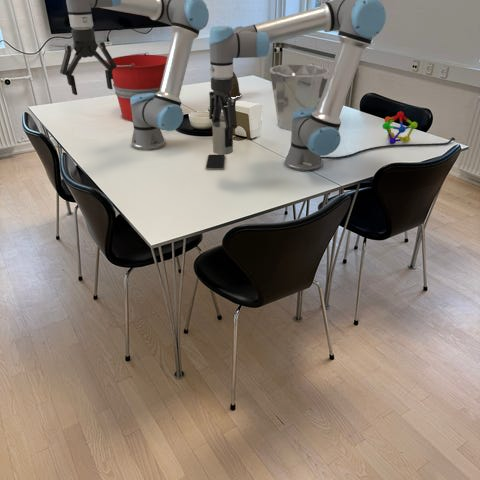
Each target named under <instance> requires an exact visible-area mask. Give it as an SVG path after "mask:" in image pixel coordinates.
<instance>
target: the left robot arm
mask: <svg viewBox="0 0 480 480" xmlns="http://www.w3.org/2000/svg"><path fill="white" fill-rule="evenodd" d="M65 2H66V3H65V4H66V7H67V13H68V18H69V24H70V28H71V30H70V32H71V36H72V42H73V43H72V44H73V45H69V44H65V45H64V55H63V58H62V62H61V67H60V69H59V73H60V74H61V75H64V76H65V77H66V81H67V84H68V85H69V86H70V87H71V93H72V95H74V96H78V90H77V85H76V78H75V75H73V73H74V71H75V70H76V68H77V67H78V64H79V62H80V61H81V60H82V58H83V59H85V58H92V57H94V58H95V59H96V60H97V61H98V62H99V63H100V64H101V65H102V67H104V68H105V70H104V74H105V79H106V87H107V89H108V90H113V88H114V87H113V83H112V82H113V81H112V80H113V73H112V71H113V69H114V68H116V67H117V66H116V64H115V62H114V61H113V59H112V58H113V57H112V56H111V54H110V52H109V51H108V49H107V47H106V43H105V42H104V41H98V42H97V41H96V34H95V29H94V28H93V27H94V21H93V15H92V14H93V13H92V9H96V8H100V9H106V10H111V11H116V12H122V13H128V14H133V15H139V16H144V17H149V19H150V20H152V21H157V22H160V23H162V24H166V25H168V26H170V28H171V30H172V37H171V42H170V45H169V50H168V54H167V56H166V57H167V62H166V66H165V70H164V74H163V78H162V82H161V86H160V90H159V92H157V93H143V94H137V95H134V96H132V97H131V99H130V102H131V104H130V106H131V110H132V118H133V121H132V125H133V132H132V135H131V142H130V143H131V147H132V148H134V149H135V150H141V151H151V150H153V151H154V150H157V149H161V148H163V147H164V146H165V144H166V140H165V137H164V135H163V132H162V131H166V132H173V131H175V130H176V129H178V128H179V127H180V126H181V124H182V123H183V120H184V112H183V109H182V107H181V106H182V100H181V98H180V95H181V91H182V87H183V82H184V79H185V75H186V71H187V67H188V63H189V59H190V56H191V51H192V47H193V43H194V40H195V39H197V38H198V37H199V35H200V32H201V31H202V30H203V29H205V28H206V27H207V25H208V23H209V19H210V13H209V12H210V11H209V9H208V7H207V4H206V2H205V1H204V0H65ZM97 49H99V50H100V51H101V52H102V54H103V56H104V57H105V58H103V57H102V56H101V55H100V54H99V52H98V51H97ZM73 51H75V53H74V54H73V58H72V60H71V56H72V52H73ZM105 59H106V60H105ZM70 60H71V62H70ZM106 61H108V62H109V64H110V65H109V64H108V63H107V62H106Z"/></svg>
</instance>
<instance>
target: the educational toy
mask: <svg viewBox="0 0 480 480" xmlns="http://www.w3.org/2000/svg"><path fill="white" fill-rule="evenodd" d="M397 119H399V124H400V125H399V127H398V126H393V125H391V124H392V123H394V122H395V121H396V120H397ZM403 120H404V121H405V122H407V123H408V124H409V125H407V126H404V123H403ZM417 127H418V122H417V121H411V120H410V119H409V118H408V117H406V116H405V113H404V112H403V111H401V110H400V111H398V112H397V114H396V115H394V116H391V117H390V116H386V117H385V118H384V122H383V123H382V129H383V130H386V132H387V138H388V142H389V145H396V143H397V142H402V141H403V142H404V143H409V142H410V140H411V138H410V136H411V134H412V132H413V131H414V130H415V129H417ZM392 129H393V130H397V131H398V132H396V134H395V133H394V132H392ZM408 129H409V131H408V133H407V134H406V135H404V136H401V134H403V133H405V132H406V130H408ZM399 135H400V136H399Z"/></svg>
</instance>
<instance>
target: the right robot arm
mask: <svg viewBox="0 0 480 480" xmlns="http://www.w3.org/2000/svg"><path fill="white" fill-rule="evenodd" d="M386 20H387V13H386V9H385V5H384V4H383V3H382V2H381V0H329V1H326V2H323V3H321V4H320V6H319V7H315V8H310V9H307V10H304V11H300V12H297V13H292V14H288V15H285V16H281V17H277V18H273V19H270V20H269V19H268V20H265V21H262V22H257V23H254V24H250V25H246V26H241V25H240V26H236V27H235V26H234V28H233V27H232V26H229V25H214V26H212V27H211V28H210V29H209V43H208V44H209V62H210V68H209V71H210V76H211V78H210V89H211V90H212V91H209V93H208V95H209V110H208V111H209V114H208V115H209V116H208V119H209V120H211V122H212V124H213V123H215V122H222V119H220V118H221V114H223V118H224V122H225V124H226V128H225V147H231V146H233V147H234V129H237V127H238V126H237V125H238V124H237V123H238V122H237V111H236V110H237V108H236V104H237V100H236V99H232V98H231V95H230V91H231V90H232V89H233V78H232V76H233V72H234V59H241V58H242V59H243V58H245V59H246V58H257V59H258V58H263V57H267V56H268V55H269V53H270V45H272V44H276V43H280V42H283V41H287V40H290V39H294V38H298V37H301V36H306V35H309V34H313V33H317V32H321V31H324V32H325V33H329V32H336V31H338V33H337V37H338V40H339V43H338V47H337V50H336V52H335V55H334V59H333V62H332V64H331V67H330V69H329V75H328V78H327V81H326V85H325V88H324V91H323V94H322V97H321V100H320V103H319V106H318V109H299V110H296V111H294V113H293V118H292V130H291V135H290V136H291V138H290V139H291V140H290V147H289V150H288V152H287V155H286V157H285V163H284V164H285V166H286V167H287V168H288V169H291V170H293V171H294V170H295V171H300V172H311V171H316V170H319V169H320V168H321V167H322V165H323V160H338V159H347V158H350V157H353V156H356V155H359V154H361V153H363V152H368V151H372V150H377V149H378V150H379V149H384V148H397V147H426V146H427V147H428V146H446V145H449V144H451V143H452V141H456V138H455V137H451V138H450V139H449V140H448V141H447V142H436V143H404V144H403V143H402V144H388V145H387V144H386V145H379V146H372V147H368V148H364V149H361V150H358V151H356V152H355V151H354V152H353V153H350V154H346V155H340V156H328V155H330V154H333V153H334V152H335V151H336V150H337V149H338V147H339V146H340V143H341V133H340V131H339V130H340V128H341V124H342V120H341V118H340V116H341V113H342V110H343V108H344V105H345V102H346V100H347V96H348V94H349V91H350V89H351V86H352V83H353V80H354V78H355V75H356V72H357V69H358V67H359V64H360V61H361V58H362V56H363V53H364V50H365V49H366V48H368V47H370V46H371V45H372V41H373V39H374V37H376V36H377V35H379V34H380V33H381V32H382V30H383V28H384V26H385V24H386Z"/></svg>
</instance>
